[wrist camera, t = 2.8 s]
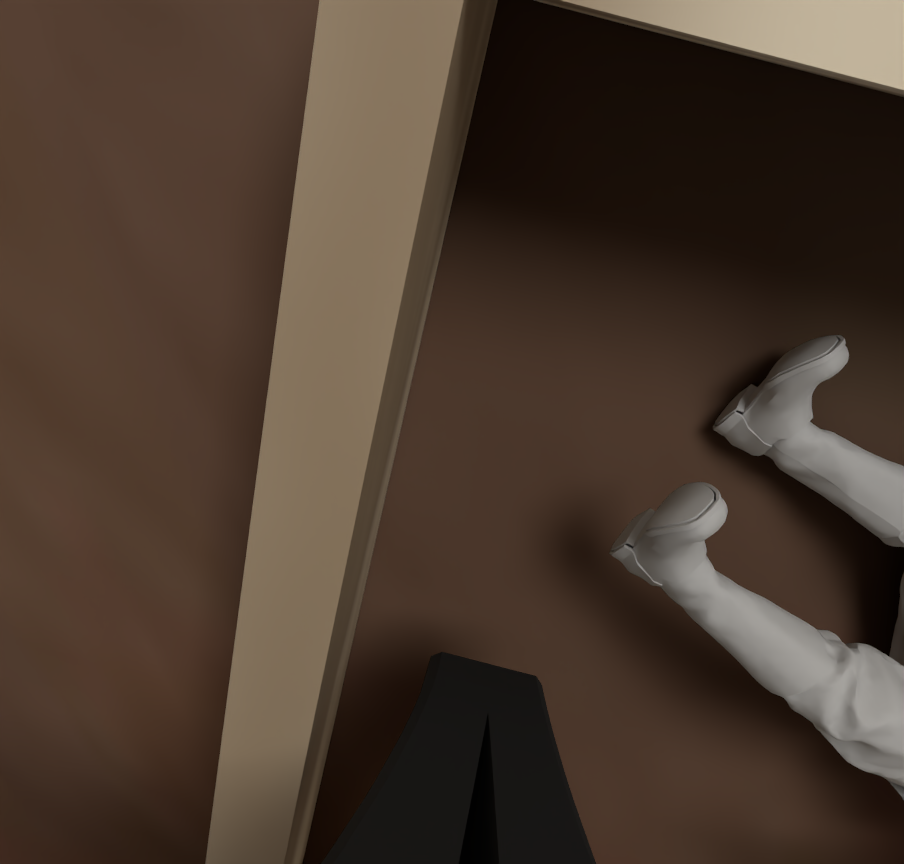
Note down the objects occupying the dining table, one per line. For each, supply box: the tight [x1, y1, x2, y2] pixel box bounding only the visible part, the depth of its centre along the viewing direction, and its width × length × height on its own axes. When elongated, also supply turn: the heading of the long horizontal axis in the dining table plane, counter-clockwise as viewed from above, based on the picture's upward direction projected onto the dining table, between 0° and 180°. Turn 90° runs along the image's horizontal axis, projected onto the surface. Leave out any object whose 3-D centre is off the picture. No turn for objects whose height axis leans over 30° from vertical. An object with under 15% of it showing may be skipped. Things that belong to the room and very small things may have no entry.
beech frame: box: [205, 0, 904, 864], centre depth 11 cm, size 15×18×4 cm
